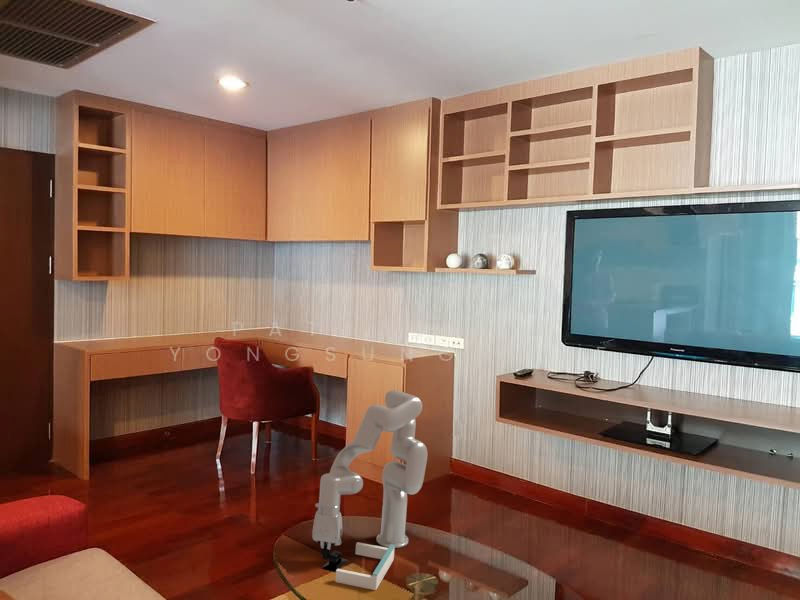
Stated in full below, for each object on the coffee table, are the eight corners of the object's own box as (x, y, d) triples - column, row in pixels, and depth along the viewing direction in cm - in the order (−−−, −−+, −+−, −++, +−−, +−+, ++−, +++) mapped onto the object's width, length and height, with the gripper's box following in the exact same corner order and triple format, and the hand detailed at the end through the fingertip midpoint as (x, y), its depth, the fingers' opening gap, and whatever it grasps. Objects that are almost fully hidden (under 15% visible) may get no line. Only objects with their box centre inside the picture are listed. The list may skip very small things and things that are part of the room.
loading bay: (356, 552, 234) (357, 538, 233) (393, 559, 230) (394, 545, 230) (335, 581, 212) (336, 566, 211) (376, 590, 208) (377, 574, 208)
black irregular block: (335, 576, 217) (336, 563, 216) (317, 570, 219) (317, 558, 219) (351, 560, 228) (352, 548, 228) (333, 555, 231) (334, 543, 231)
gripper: (305, 509, 222) (302, 558, 223) (345, 516, 218) (341, 567, 219) (314, 501, 229) (310, 549, 230) (352, 508, 225) (348, 557, 226)
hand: (325, 558), depth 225 cm, fingers closed
